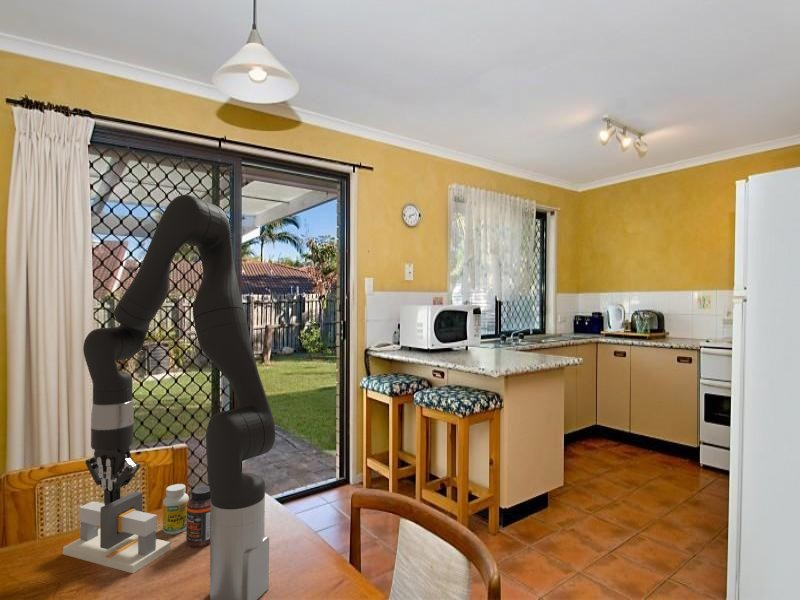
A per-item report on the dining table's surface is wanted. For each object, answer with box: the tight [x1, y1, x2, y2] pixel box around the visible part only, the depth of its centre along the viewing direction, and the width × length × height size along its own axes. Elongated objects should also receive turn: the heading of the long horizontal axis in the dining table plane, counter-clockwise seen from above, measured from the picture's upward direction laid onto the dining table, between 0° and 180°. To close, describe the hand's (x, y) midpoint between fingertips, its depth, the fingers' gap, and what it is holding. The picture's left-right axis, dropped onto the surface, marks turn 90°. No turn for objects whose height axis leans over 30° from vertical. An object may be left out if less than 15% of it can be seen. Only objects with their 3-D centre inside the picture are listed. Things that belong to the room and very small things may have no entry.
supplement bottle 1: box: [162, 483, 190, 535], centre depth 105 cm, size 5×5×10 cm
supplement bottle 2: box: [185, 485, 211, 547], centre depth 101 cm, size 6×6×11 cm
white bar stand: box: [62, 500, 171, 574], centre depth 96 cm, size 19×9×9 cm, turn 71°
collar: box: [99, 491, 143, 549], centre depth 95 cm, size 2×8×8 cm, turn 161°
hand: (112, 505), depth 96 cm, fingers closed
